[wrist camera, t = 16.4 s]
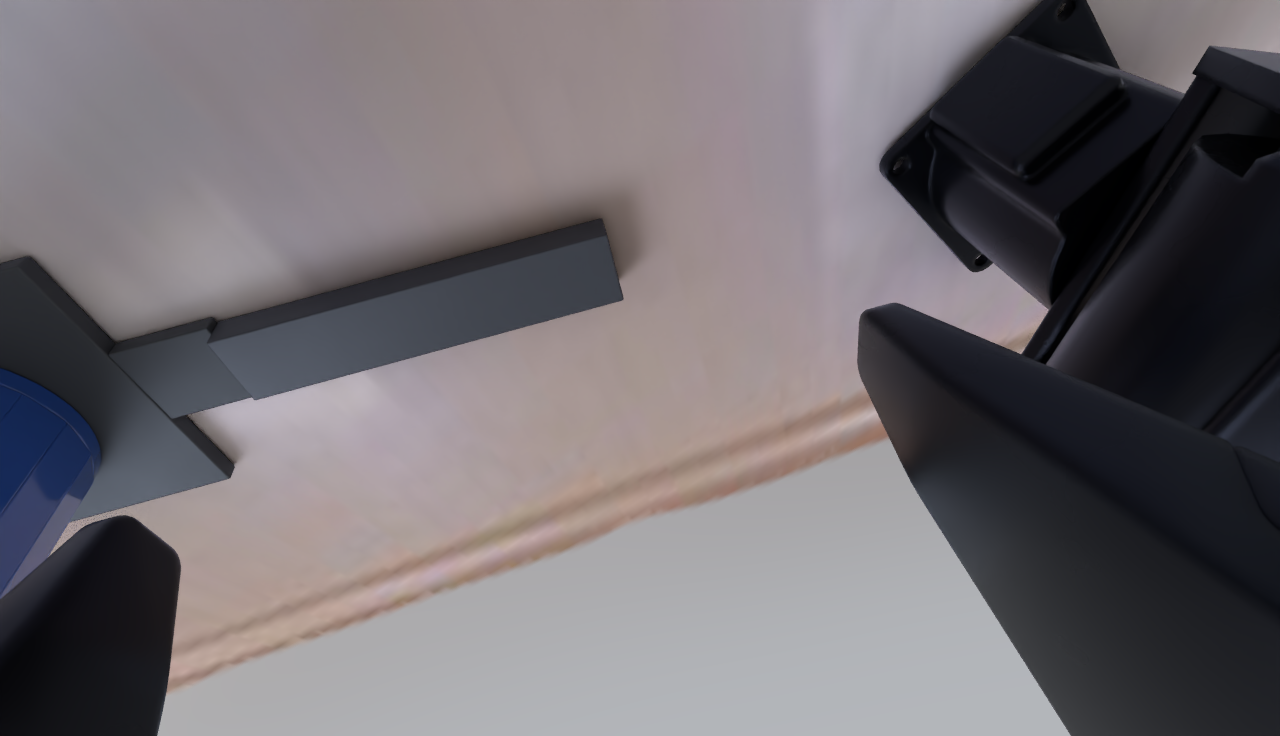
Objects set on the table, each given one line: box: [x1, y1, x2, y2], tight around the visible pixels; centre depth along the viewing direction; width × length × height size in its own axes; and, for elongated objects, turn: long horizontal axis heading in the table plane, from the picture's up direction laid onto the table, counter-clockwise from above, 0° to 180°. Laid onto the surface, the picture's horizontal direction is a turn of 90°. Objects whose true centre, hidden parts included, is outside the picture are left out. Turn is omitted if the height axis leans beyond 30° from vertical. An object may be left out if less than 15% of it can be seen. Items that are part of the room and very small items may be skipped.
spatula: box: [0, 219, 624, 522], centre depth 19 cm, size 26×9×1 cm, turn 101°
